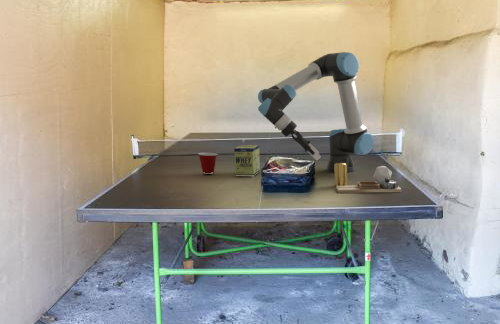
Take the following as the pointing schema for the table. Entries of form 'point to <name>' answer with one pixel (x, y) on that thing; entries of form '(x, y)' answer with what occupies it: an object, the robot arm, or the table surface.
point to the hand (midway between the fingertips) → (318, 156)
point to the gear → (388, 184)
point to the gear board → (365, 188)
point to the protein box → (247, 160)
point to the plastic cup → (207, 161)
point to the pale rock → (382, 173)
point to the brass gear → (340, 174)
